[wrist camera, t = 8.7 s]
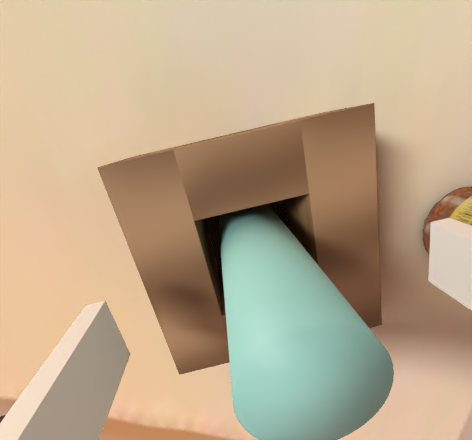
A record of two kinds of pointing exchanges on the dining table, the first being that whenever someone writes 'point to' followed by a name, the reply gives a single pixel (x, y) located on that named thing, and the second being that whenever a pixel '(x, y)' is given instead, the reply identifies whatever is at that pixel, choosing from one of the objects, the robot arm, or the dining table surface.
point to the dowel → (294, 337)
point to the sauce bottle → (450, 211)
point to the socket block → (242, 197)
